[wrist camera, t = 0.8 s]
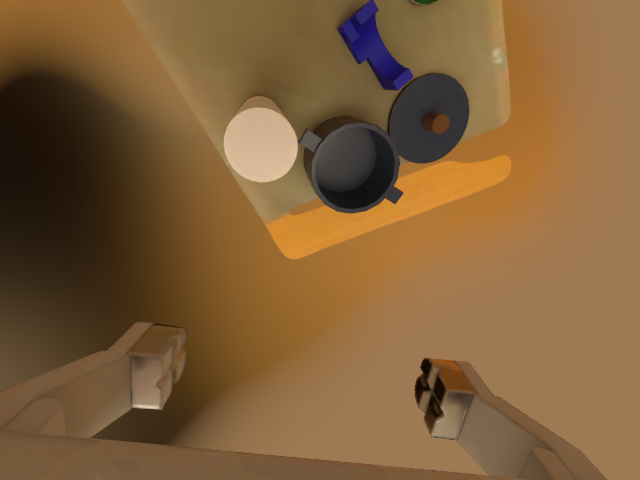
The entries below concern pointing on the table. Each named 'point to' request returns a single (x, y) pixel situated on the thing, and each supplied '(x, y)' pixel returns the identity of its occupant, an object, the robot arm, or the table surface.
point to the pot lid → (429, 118)
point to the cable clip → (373, 47)
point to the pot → (351, 164)
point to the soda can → (423, 2)
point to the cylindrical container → (260, 141)
